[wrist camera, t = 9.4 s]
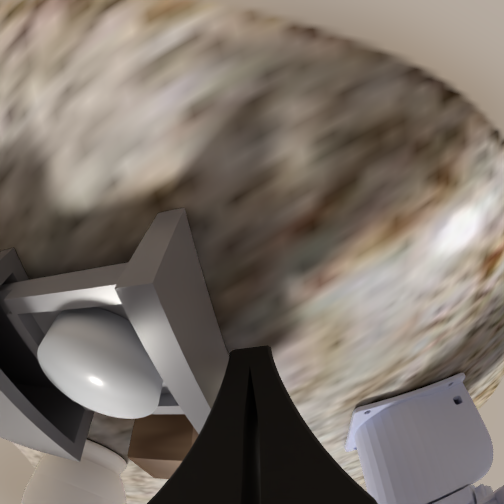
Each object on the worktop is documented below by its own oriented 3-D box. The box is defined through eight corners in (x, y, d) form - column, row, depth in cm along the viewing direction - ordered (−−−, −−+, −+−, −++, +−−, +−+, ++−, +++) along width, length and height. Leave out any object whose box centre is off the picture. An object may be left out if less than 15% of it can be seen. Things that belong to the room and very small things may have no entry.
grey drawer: (197, 205, 10) (173, 279, 6) (248, 387, 16) (251, 461, 12) (-3, 253, 11) (-56, 309, 7) (85, 391, 16) (66, 448, 12)
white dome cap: (154, 313, 11) (143, 348, 9) (173, 395, 13) (168, 426, 12) (37, 299, 10) (17, 327, 9) (76, 379, 13) (66, 405, 12)
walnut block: (195, 404, 17) (190, 460, 13) (211, 432, 19) (210, 480, 15) (138, 405, 17) (127, 457, 13) (160, 432, 19) (154, 477, 15)
